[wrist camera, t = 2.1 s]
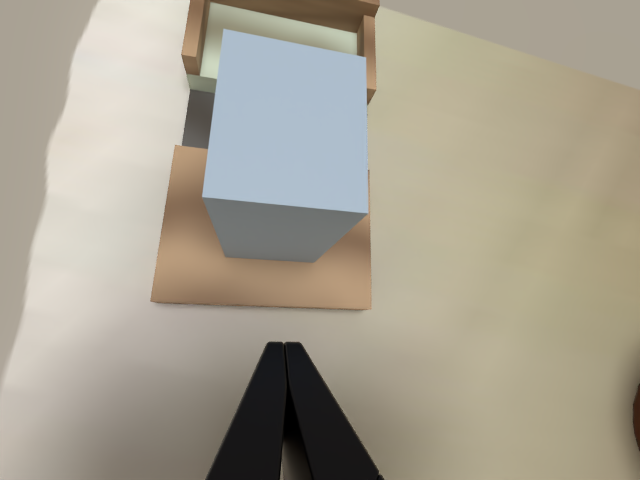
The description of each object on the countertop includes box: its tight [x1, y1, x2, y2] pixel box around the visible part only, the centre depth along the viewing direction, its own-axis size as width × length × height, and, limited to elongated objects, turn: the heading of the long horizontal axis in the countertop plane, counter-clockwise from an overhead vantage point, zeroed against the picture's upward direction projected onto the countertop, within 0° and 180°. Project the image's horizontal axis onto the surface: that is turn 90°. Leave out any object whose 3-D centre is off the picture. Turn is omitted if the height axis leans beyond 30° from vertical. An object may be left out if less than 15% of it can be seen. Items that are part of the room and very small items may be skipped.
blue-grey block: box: [202, 29, 368, 263], centre depth 14 cm, size 6×5×9 cm
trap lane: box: [150, 0, 380, 310], centre depth 20 cm, size 21×12×4 cm, turn 178°
